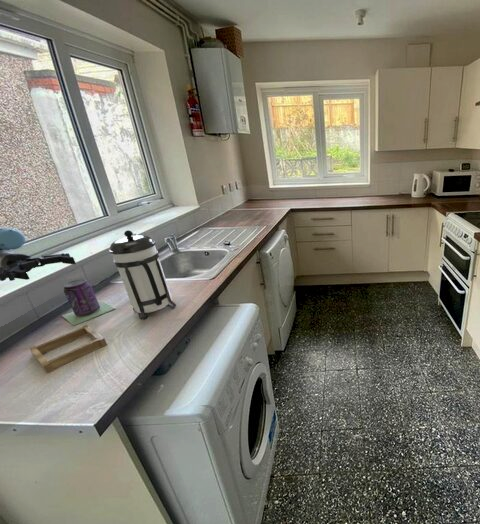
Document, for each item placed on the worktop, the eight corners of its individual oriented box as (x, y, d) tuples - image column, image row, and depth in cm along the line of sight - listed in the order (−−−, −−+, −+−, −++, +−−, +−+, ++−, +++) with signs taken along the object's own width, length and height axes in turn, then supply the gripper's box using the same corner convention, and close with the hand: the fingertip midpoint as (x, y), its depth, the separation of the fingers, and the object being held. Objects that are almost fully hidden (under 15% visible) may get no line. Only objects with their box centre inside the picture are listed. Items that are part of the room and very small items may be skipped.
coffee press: (117, 322, 98) (82, 239, 87) (149, 299, 113) (122, 225, 101) (166, 321, 97) (137, 237, 86) (192, 298, 112) (170, 223, 101)
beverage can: (74, 312, 105) (60, 283, 100) (98, 304, 110) (86, 276, 105) (77, 319, 100) (62, 289, 96) (102, 310, 105) (89, 281, 101)
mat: (62, 316, 104) (61, 315, 103) (102, 301, 113) (101, 300, 113) (73, 325, 97) (73, 325, 97) (114, 309, 107) (114, 308, 107)
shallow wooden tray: (33, 355, 84) (29, 348, 83) (89, 330, 94) (86, 324, 93) (47, 373, 77) (43, 366, 76) (107, 345, 87) (104, 338, 86)
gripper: (59, 260, 120) (93, 264, 114) (-29, 286, 98) (8, 293, 92) (51, 243, 117) (86, 246, 111) (-41, 266, 95) (-3, 272, 89)
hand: (51, 267), depth 101 cm, fingers open, 13 cm apart
